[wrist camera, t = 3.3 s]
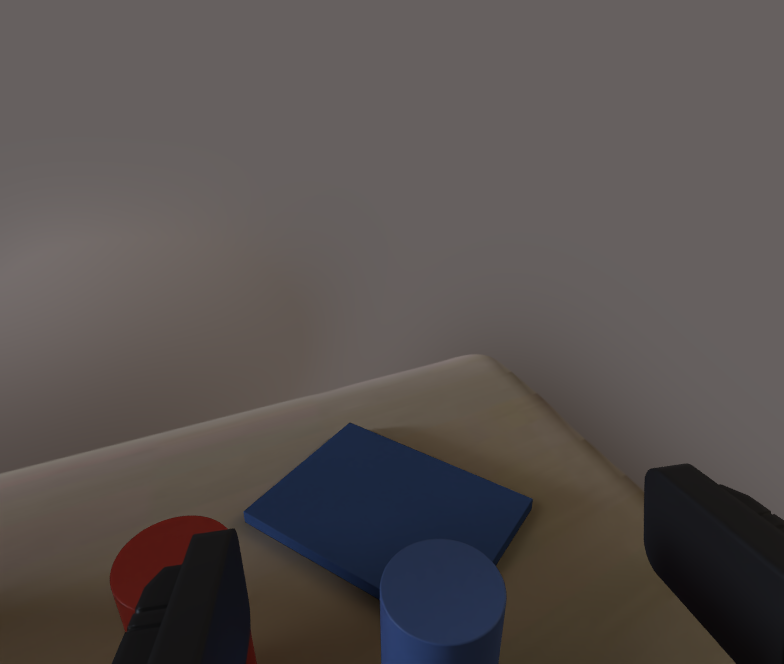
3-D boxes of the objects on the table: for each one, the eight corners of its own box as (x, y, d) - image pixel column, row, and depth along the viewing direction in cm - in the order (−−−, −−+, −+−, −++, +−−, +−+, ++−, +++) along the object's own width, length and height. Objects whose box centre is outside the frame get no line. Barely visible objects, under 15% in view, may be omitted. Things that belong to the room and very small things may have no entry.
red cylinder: (138, 727, 30) (83, 573, 25) (216, 648, 34) (182, 499, 28) (208, 791, 27) (163, 635, 22) (283, 698, 31) (260, 546, 26)
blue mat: (244, 522, 42) (243, 511, 41) (350, 431, 50) (349, 422, 50) (448, 640, 34) (449, 629, 33) (531, 509, 43) (533, 498, 42)
